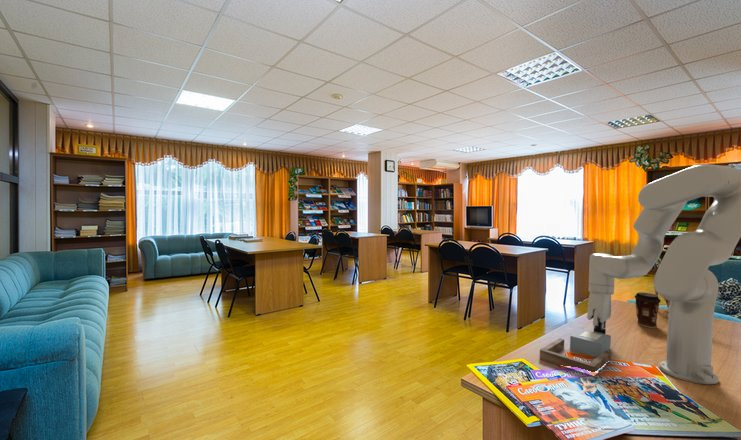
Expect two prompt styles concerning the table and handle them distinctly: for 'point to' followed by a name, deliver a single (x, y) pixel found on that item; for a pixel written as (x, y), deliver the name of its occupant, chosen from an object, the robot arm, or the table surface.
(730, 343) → the table surface
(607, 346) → the carton
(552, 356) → the display bay
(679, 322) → the robot arm
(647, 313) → the coffee cup
